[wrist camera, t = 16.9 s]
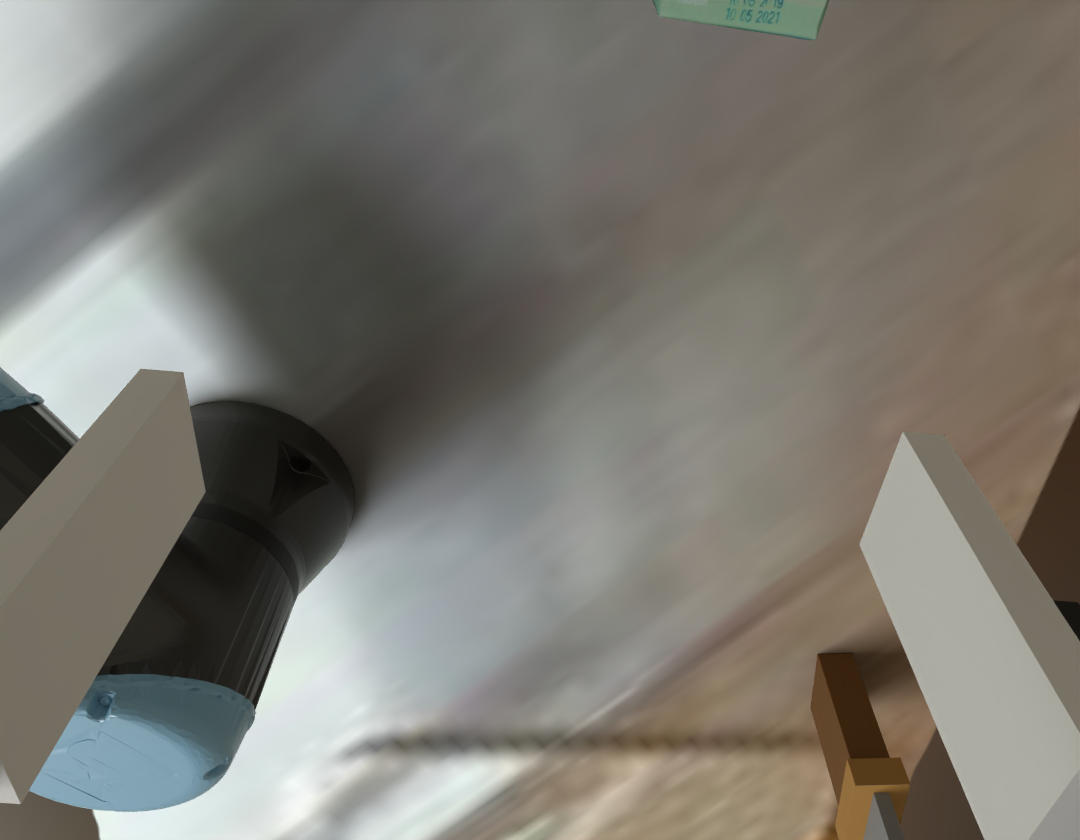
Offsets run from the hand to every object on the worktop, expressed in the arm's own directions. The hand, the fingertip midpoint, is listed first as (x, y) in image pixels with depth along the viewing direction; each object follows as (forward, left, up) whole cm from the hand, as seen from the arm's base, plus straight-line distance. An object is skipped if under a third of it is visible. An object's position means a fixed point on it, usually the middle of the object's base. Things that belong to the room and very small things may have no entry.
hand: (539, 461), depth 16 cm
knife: (+27, -46, -35) cm, 64 cm away
